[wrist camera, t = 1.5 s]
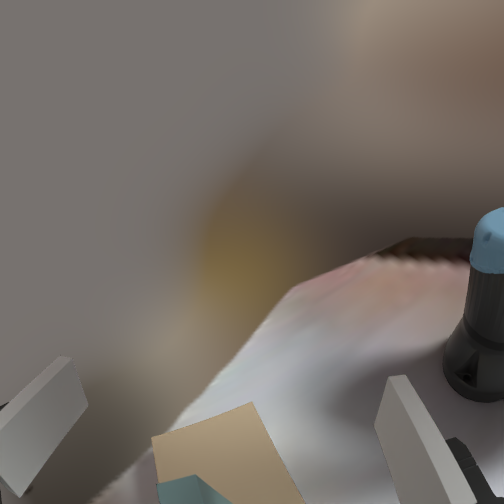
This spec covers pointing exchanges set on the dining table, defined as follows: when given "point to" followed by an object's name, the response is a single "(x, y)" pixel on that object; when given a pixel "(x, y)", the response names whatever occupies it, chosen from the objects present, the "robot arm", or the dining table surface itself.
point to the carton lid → (222, 463)
